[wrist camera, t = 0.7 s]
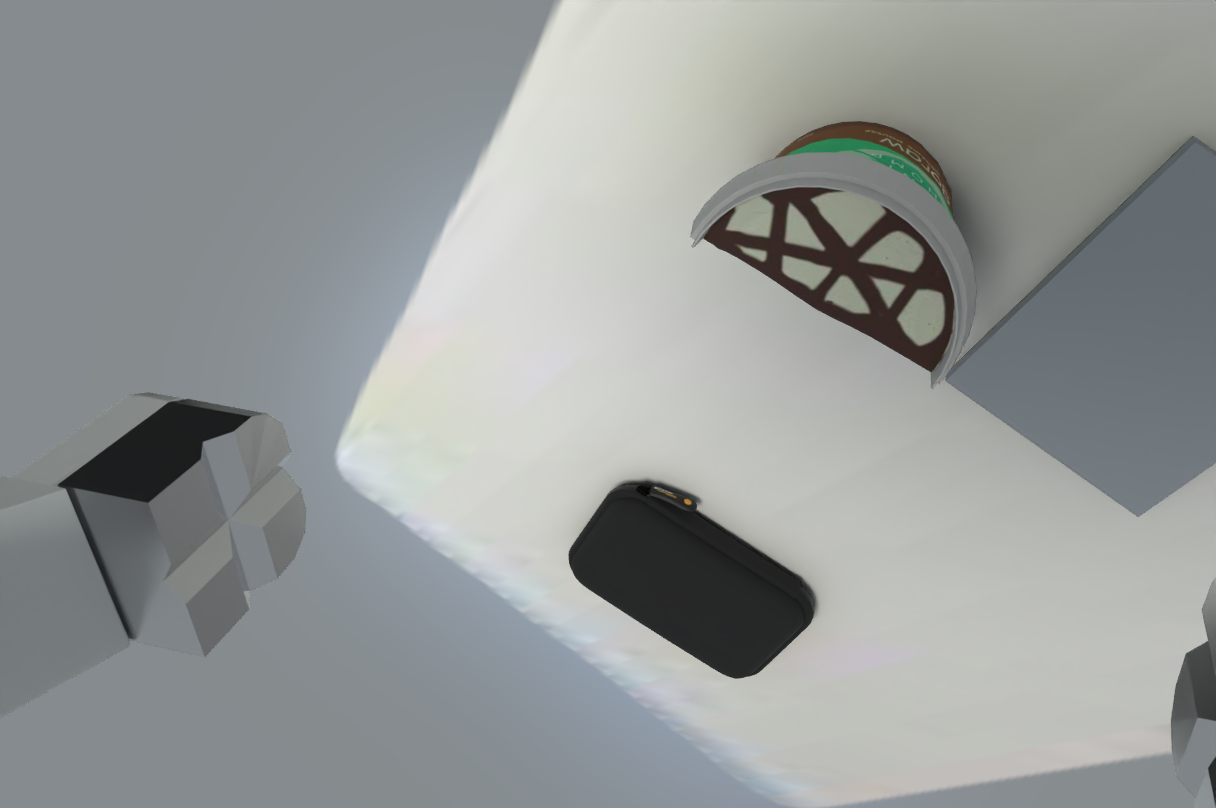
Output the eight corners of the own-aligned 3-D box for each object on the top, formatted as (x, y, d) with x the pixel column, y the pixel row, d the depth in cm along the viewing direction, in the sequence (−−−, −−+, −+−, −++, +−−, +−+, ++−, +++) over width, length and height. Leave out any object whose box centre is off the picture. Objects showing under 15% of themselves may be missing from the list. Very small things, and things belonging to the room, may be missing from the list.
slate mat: (1193, 136, 41) (1195, 142, 40) (1424, 303, 41) (1430, 312, 40) (946, 372, 50) (945, 380, 49) (1136, 507, 50) (1138, 517, 50)
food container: (1044, 182, 44) (1046, 280, 36) (959, 287, 48) (944, 396, 40) (802, 42, 44) (752, 108, 36) (738, 158, 48) (679, 240, 40)
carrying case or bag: (841, 579, 60) (637, 449, 60) (833, 614, 58) (621, 478, 58) (752, 665, 67) (568, 548, 67) (741, 700, 64) (551, 578, 64)
